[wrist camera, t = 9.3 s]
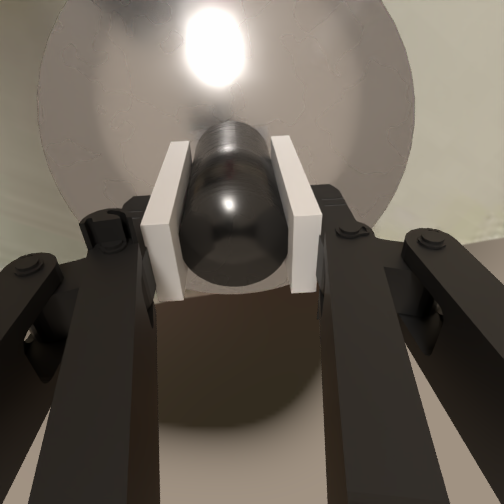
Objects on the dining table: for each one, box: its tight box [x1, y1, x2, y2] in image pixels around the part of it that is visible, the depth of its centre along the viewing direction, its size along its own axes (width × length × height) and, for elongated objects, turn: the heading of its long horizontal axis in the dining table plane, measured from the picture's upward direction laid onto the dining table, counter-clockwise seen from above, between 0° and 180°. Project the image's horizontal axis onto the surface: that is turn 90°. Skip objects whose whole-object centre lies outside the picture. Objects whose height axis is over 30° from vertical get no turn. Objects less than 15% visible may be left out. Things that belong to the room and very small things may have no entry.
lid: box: [37, 0, 415, 294], centre depth 15 cm, size 17×17×10 cm
